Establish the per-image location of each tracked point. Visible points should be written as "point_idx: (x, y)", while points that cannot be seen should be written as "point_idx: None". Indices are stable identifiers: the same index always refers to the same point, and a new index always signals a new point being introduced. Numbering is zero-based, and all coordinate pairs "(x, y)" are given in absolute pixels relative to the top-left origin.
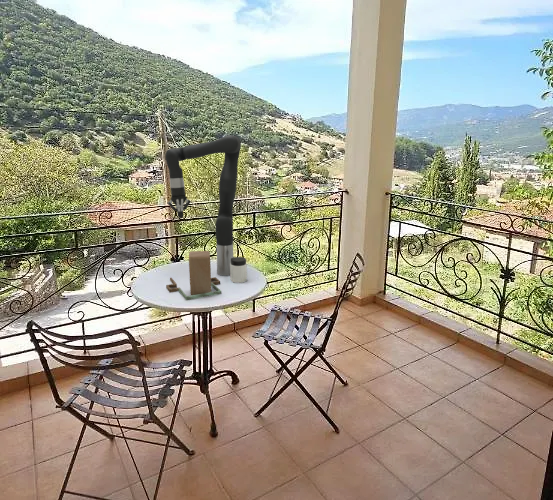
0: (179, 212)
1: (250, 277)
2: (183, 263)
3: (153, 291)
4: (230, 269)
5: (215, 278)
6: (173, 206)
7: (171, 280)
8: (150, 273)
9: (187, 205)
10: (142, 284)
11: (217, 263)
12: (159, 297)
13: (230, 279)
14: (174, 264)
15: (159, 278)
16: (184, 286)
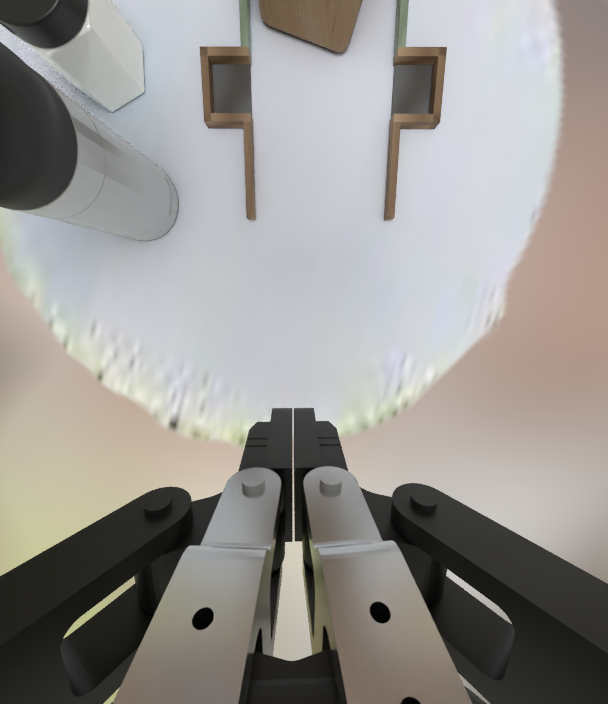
0: (319, 457)
1: None
2: None
3: (493, 113)
4: (112, 46)
5: (210, 101)
6: (542, 602)
7: (395, 188)
8: (432, 348)
9: (3, 595)
10: (503, 226)
11: (153, 186)
12: (496, 18)
13: (143, 88)
14: None
15: (420, 269)
16: (359, 110)
